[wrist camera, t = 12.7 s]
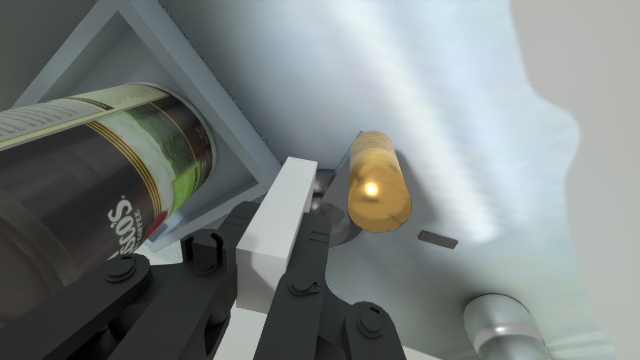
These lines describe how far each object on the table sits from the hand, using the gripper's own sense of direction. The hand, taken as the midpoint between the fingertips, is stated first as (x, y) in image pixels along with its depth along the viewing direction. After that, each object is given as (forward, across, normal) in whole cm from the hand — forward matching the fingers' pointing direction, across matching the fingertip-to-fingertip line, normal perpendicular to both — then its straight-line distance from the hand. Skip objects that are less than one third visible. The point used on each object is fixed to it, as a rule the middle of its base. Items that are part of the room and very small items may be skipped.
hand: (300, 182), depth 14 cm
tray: (+9, -14, -4) cm, 17 cm away
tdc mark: (+9, +13, -9) cm, 18 cm away
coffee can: (+8, -14, -4) cm, 16 cm away
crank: (+8, +3, -4) cm, 9 cm away
